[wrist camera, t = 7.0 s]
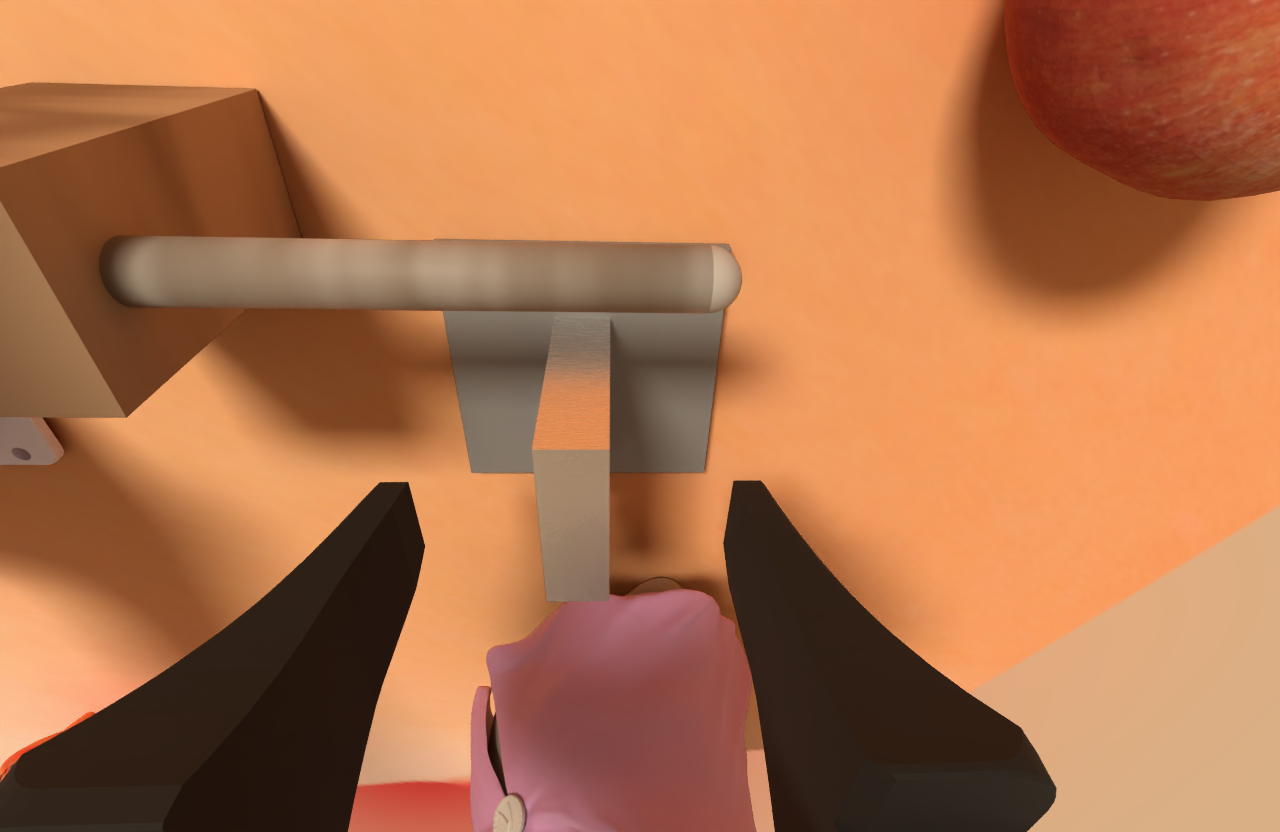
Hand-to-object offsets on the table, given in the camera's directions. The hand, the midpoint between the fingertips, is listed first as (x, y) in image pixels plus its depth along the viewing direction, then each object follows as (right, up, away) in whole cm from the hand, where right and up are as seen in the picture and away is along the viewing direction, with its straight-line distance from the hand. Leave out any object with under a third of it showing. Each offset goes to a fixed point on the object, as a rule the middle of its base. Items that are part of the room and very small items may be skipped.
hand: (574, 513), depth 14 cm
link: (0, +3, +5) cm, 6 cm away
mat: (0, +4, +5) cm, 6 cm away
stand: (-5, +8, +2) cm, 10 cm away
